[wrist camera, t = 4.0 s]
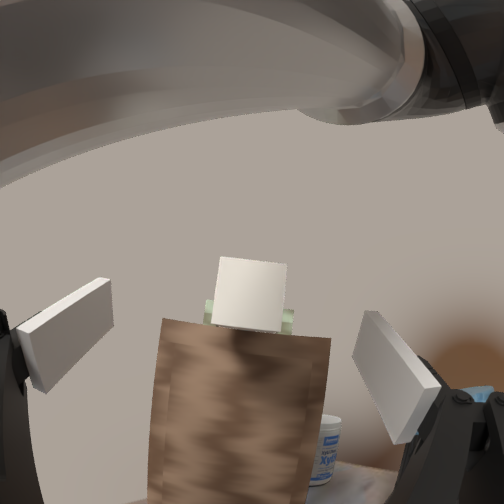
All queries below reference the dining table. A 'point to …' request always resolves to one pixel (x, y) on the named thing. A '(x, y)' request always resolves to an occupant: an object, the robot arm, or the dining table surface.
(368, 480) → the dining table surface
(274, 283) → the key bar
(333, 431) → the supplement tub
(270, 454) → the shelf
